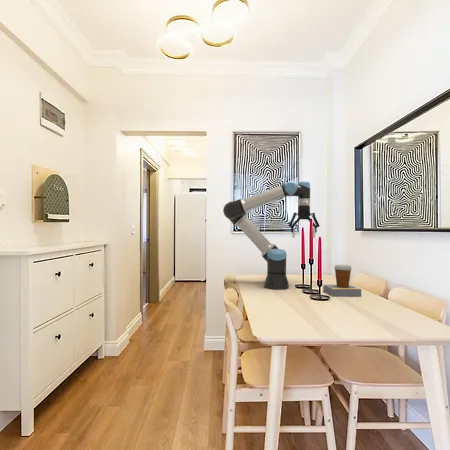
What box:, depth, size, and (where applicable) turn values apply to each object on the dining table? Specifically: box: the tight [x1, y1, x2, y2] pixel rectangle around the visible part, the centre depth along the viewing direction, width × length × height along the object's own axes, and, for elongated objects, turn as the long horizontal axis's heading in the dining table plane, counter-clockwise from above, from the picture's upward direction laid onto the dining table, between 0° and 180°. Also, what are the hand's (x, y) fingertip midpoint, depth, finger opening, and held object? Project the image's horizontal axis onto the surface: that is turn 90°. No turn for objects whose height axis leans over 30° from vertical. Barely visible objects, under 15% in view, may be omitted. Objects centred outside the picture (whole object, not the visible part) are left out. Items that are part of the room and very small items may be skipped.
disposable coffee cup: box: [333, 264, 353, 288], centre depth 187 cm, size 10×10×12 cm
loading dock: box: [322, 284, 362, 297], centre depth 186 cm, size 16×14×4 cm
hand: (303, 237), depth 216 cm, fingers open, 13 cm apart
